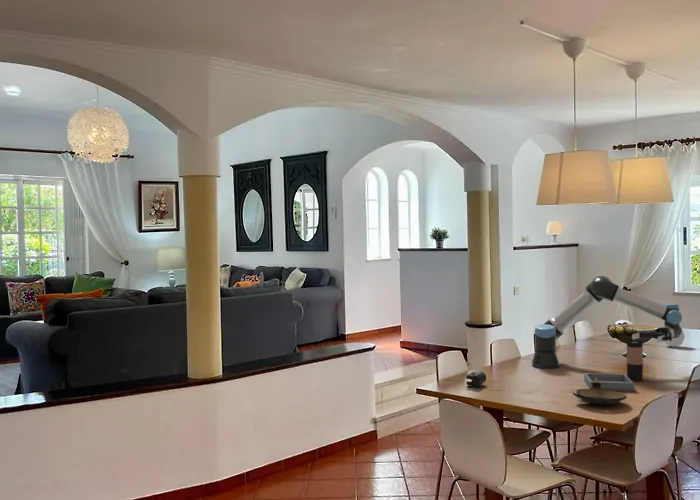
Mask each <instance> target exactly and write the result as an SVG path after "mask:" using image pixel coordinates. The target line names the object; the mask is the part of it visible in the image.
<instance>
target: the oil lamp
mask: <svg viewBox="0 0 700 500" xmlns="http://www.w3.org/2000/svg"><path fill="white" fill-rule="evenodd" d="M592 386H593V389H590V388H580V389H577V390H576V391H574V392H573V391H572V395H573V396H575V397H576V398H578V399H580V400H582V401H584V402H586V403H589V404H593V405H600V406H601V405H602V406H604V405H606V406H607V405H608V406H609V405H612V404H616V403H619V402H621V401H624V400H625V399H627V395H626V394H624V393H622V392H620V391H618V392H617V391H609V390H602V389H601V388H600V386H601V383H599V381H598V379H597V378H595V379H594V382H593V383H592Z"/></svg>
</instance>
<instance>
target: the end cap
mask: <svg viewBox="0 0 700 500" xmlns="http://www.w3.org/2000/svg"><path fill="white" fill-rule="evenodd" d="M465 377H466V378H465V379H467V380H468V381H466V382H465V383H466V388H469V389H477V388H478V387H479V386H481V385H483V384H484V383H485V382H486V381H487V375H486V374H485V373H484V372H483V371H479V372H476V371H473V372H471V373H468V374H466V376H465ZM469 380H471V381H469Z"/></svg>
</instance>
